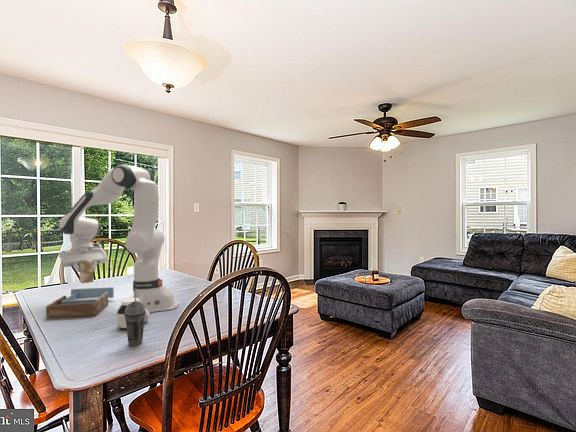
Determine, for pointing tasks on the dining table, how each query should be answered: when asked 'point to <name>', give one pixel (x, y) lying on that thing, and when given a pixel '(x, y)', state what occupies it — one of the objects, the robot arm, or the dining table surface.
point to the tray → (87, 295)
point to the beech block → (86, 271)
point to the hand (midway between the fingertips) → (86, 270)
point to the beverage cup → (135, 322)
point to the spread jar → (120, 314)
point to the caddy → (75, 308)
